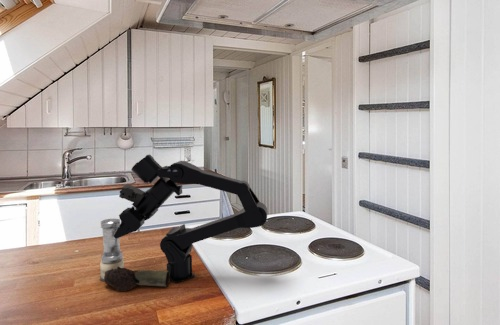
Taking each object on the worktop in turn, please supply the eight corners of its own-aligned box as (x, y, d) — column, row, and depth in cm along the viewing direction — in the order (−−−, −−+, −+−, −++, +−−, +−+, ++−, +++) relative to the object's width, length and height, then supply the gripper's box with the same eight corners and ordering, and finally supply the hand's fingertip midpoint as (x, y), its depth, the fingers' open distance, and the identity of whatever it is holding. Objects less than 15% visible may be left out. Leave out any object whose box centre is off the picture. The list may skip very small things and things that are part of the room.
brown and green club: (170, 282, 98) (169, 263, 98) (164, 293, 92) (163, 273, 91) (109, 281, 99) (108, 263, 98) (98, 293, 92) (97, 273, 91)
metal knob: (118, 255, 105) (116, 217, 104) (125, 260, 101) (124, 221, 99) (98, 260, 101) (96, 220, 100) (105, 266, 97) (103, 225, 96)
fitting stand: (120, 270, 106) (119, 254, 106) (128, 277, 101) (127, 260, 101) (97, 276, 102) (96, 260, 101) (104, 284, 97) (104, 267, 96)
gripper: (146, 171, 107) (113, 206, 109) (125, 180, 89) (85, 222, 90) (172, 195, 108) (139, 229, 109) (156, 210, 90) (116, 251, 91)
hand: (121, 232), depth 100 cm, fingers open, 9 cm apart
